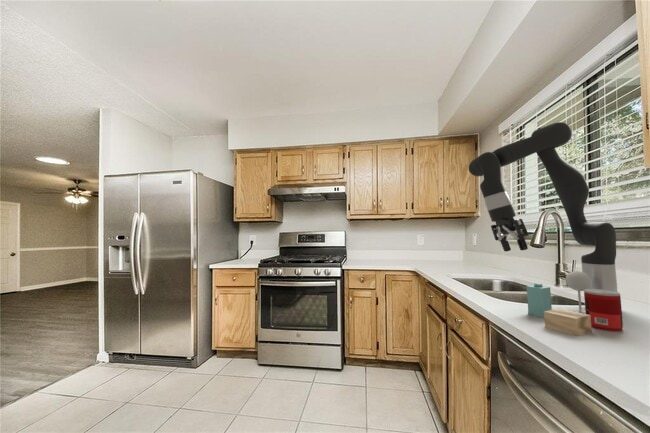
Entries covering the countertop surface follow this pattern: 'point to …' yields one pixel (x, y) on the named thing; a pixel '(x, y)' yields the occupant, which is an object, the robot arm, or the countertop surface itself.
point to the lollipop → (578, 283)
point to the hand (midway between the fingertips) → (515, 250)
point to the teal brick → (538, 299)
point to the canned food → (604, 309)
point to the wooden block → (568, 321)
